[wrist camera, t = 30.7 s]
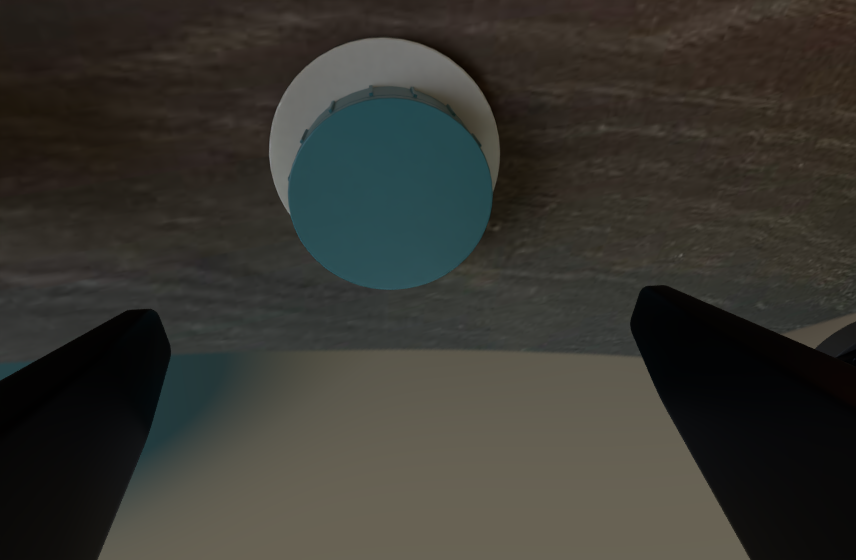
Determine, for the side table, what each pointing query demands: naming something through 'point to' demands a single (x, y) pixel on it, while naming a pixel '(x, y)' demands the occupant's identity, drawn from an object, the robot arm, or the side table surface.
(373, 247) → the lid
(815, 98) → the side table surface
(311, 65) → the saucer
